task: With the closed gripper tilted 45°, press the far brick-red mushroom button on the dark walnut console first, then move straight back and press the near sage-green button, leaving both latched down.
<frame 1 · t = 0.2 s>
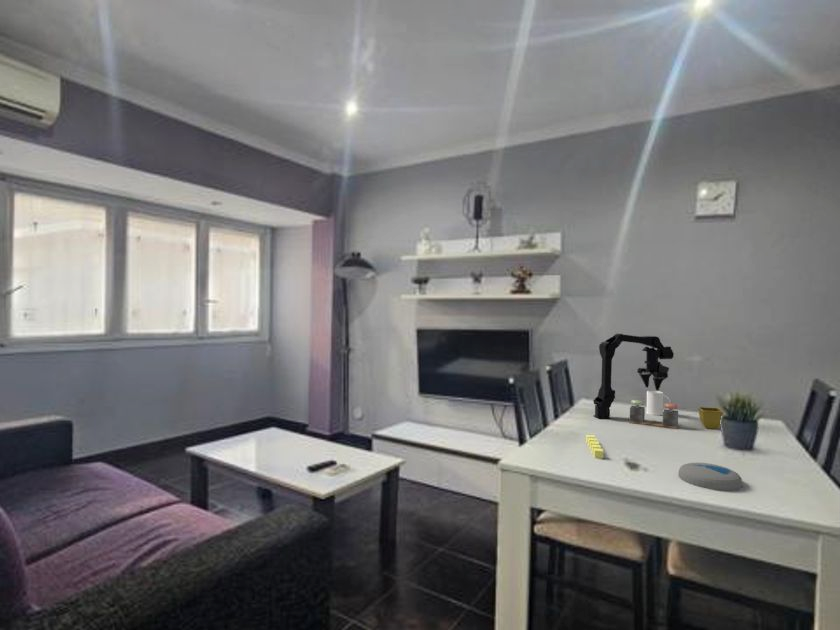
hand: (652, 388, 253), 15 cm above the table, tool pointing down, fingers open, 9 cm apart
yellow ridged bar: (598, 451, 195), on the table
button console: (653, 424, 237), on the table
sage button: (637, 406, 241), point 8 cm above the table, slide at 0.0 cm
mug: (657, 414, 259), on the table
flower pot: (710, 427, 232), on the table
decorative stone: (709, 481, 161), on the table
red button: (670, 409, 233), point 8 cm above the table, slide at 0.0 cm
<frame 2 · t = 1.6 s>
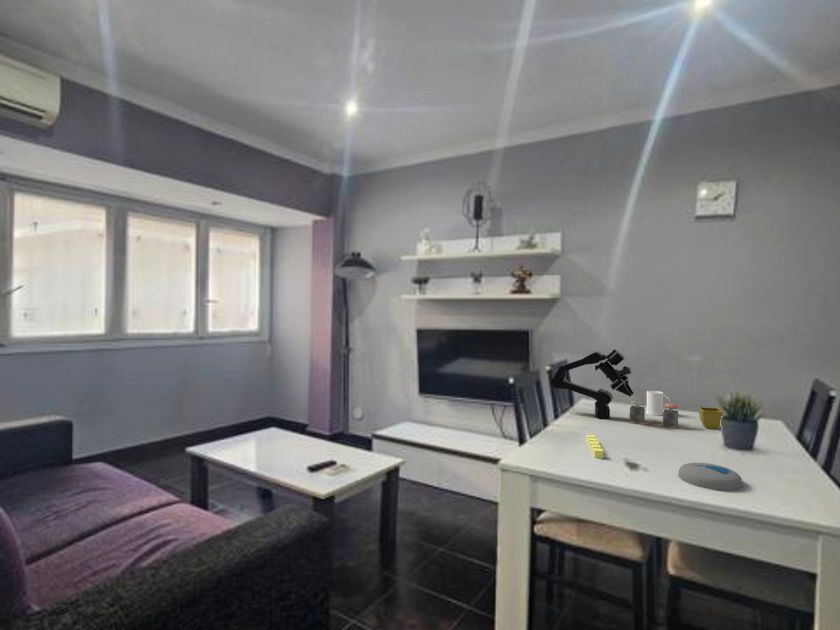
hand: (632, 394, 242), 14 cm above the table, tool tilted 45°, fingers open, 6 cm apart
nothing on the table moved.
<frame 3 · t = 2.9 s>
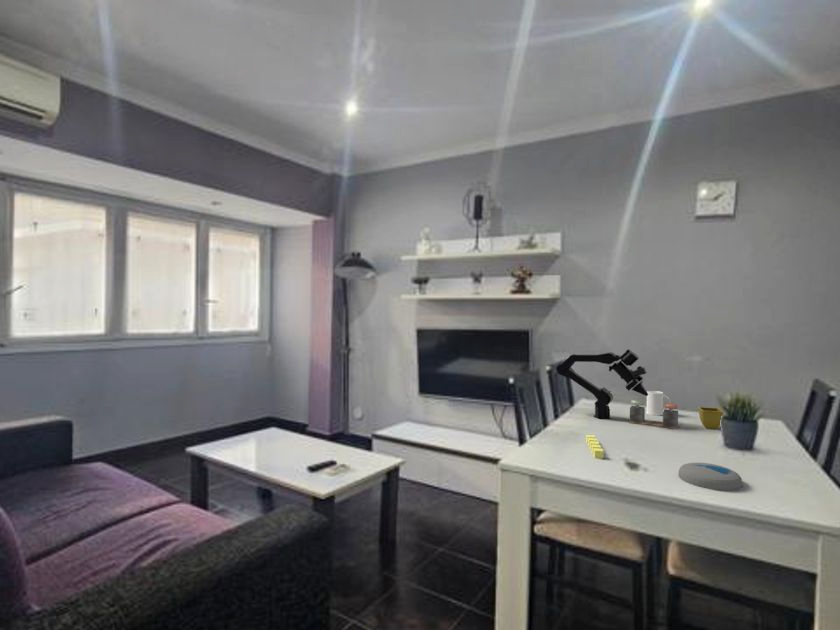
hand: (647, 395, 238), 14 cm above the table, tool tilted 45°, fingers closed
nothing on the table moved.
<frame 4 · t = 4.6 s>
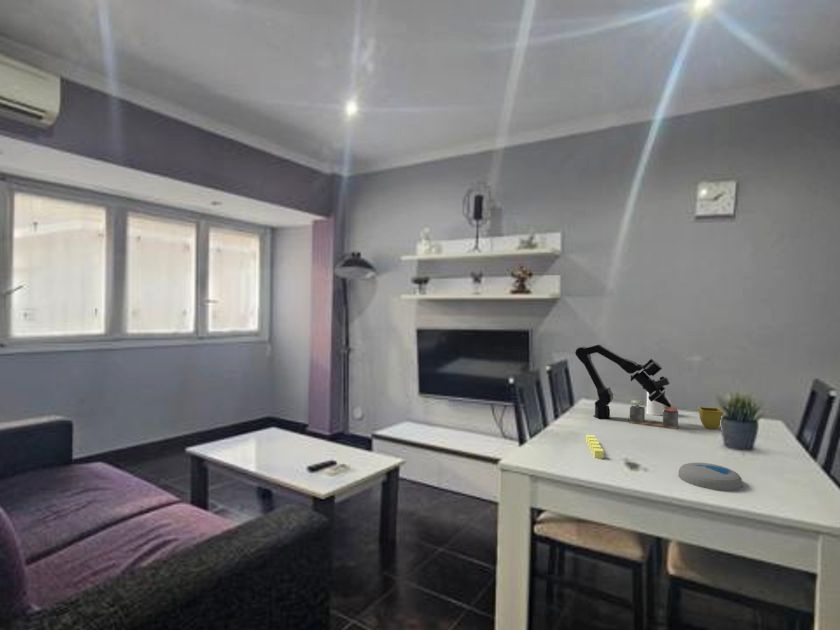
hand: (670, 406, 233), 10 cm above the table, tool tilted 45°, fingers closed
red button: (670, 412, 233), point 7 cm above the table, slide at 1.4 cm
everything else where it was.
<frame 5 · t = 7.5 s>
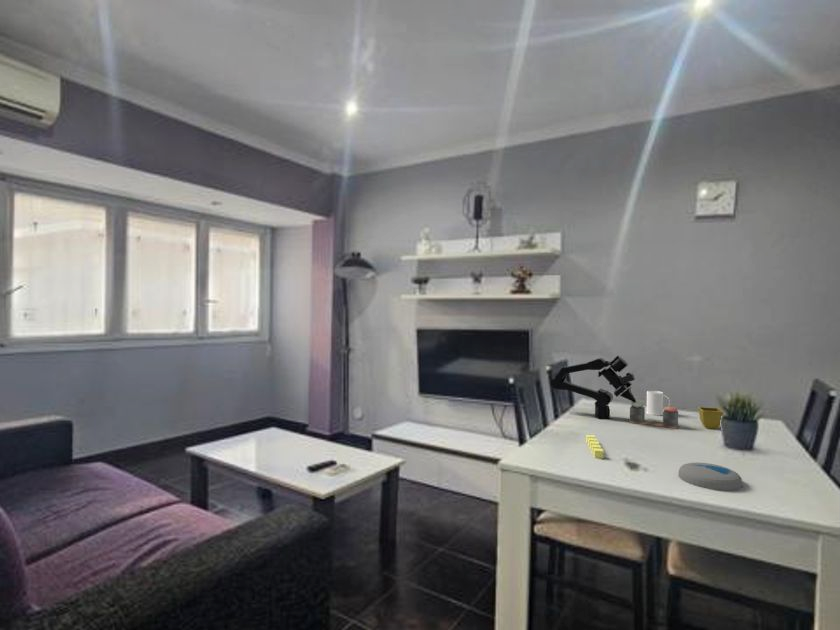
hand: (635, 401, 241), 10 cm above the table, tool tilted 45°, fingers closed
sage button: (637, 407, 241), point 7 cm above the table, slide at 0.9 cm
everything else where it was.
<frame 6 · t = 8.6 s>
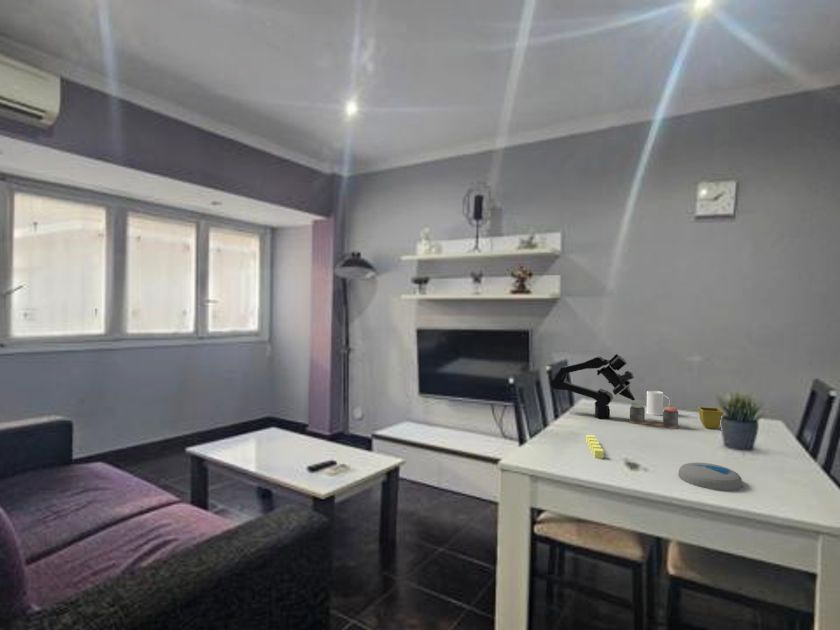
hand: (634, 399, 241), 11 cm above the table, tool tilted 45°, fingers closed
sage button: (637, 409, 241), point 7 cm above the table, slide at 1.6 cm
everything else where it was.
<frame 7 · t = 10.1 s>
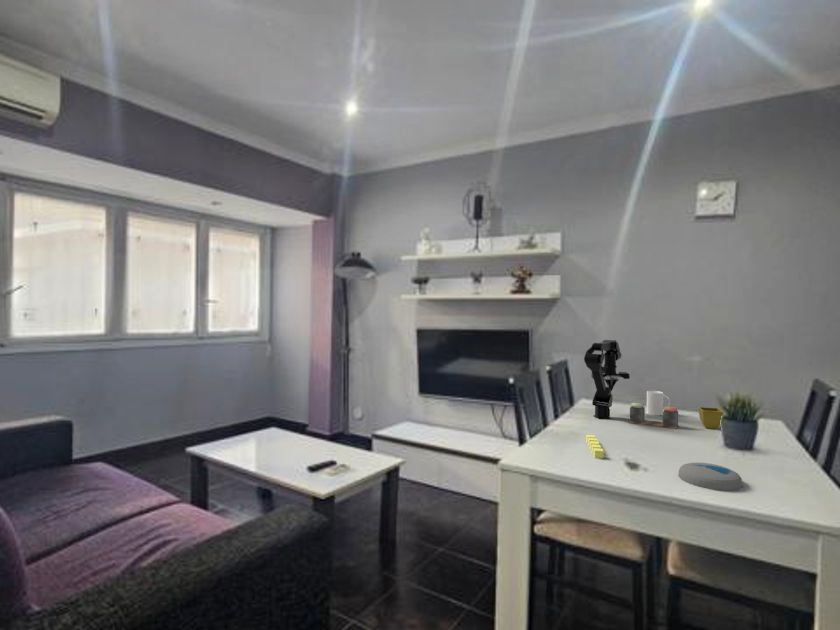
hand: (610, 391, 260), 12 cm above the table, tool pointing down, fingers closed
nothing on the table moved.
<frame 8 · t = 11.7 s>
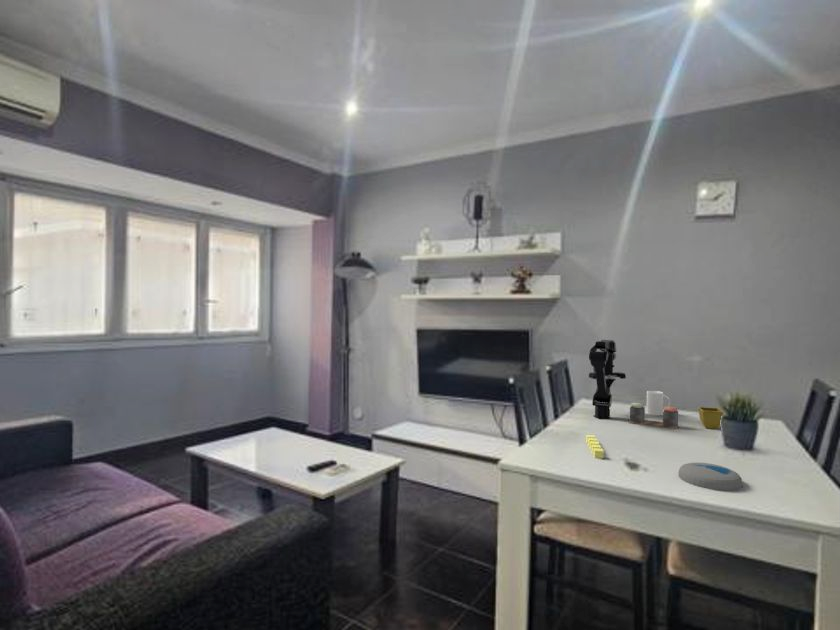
hand: (606, 391, 261), 12 cm above the table, tool pointing down, fingers closed
nothing on the table moved.
at the end: red button slide at 1.5 cm; sage button slide at 1.6 cm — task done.
